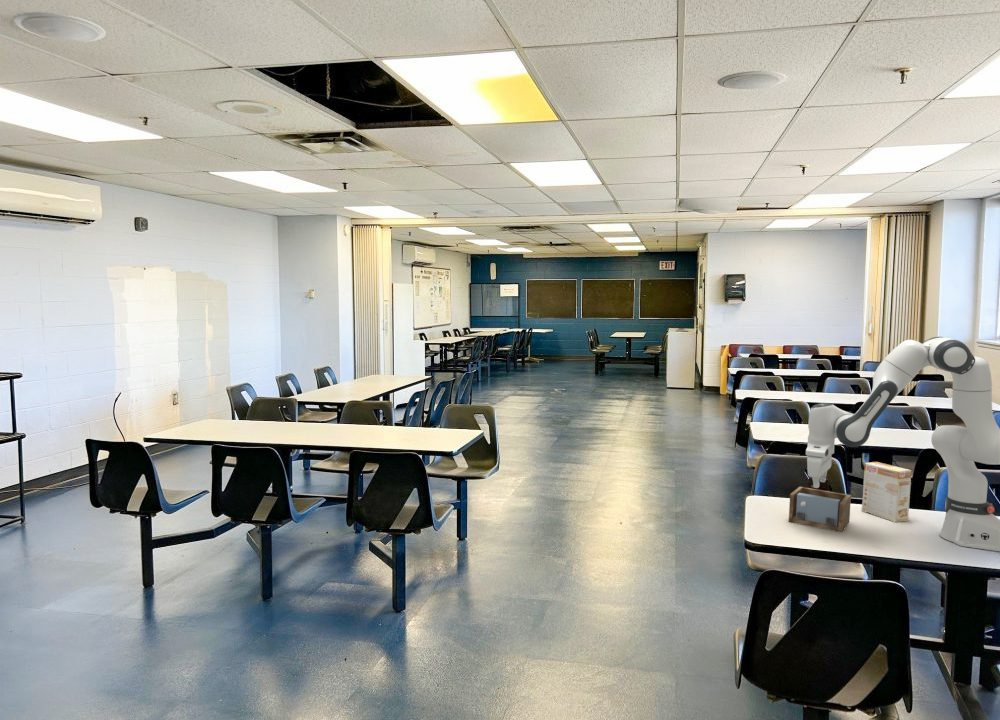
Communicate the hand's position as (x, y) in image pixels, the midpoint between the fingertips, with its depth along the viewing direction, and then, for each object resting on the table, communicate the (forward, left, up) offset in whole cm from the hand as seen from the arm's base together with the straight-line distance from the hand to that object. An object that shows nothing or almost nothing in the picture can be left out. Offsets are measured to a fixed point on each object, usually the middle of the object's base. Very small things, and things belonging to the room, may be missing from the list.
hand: (819, 484), depth 250 cm
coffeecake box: (-18, -28, -15) cm, 37 cm away
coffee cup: (+4, -19, -15) cm, 25 cm away
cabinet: (0, -3, -15) cm, 15 cm away
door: (0, 0, -14) cm, 14 cm away
